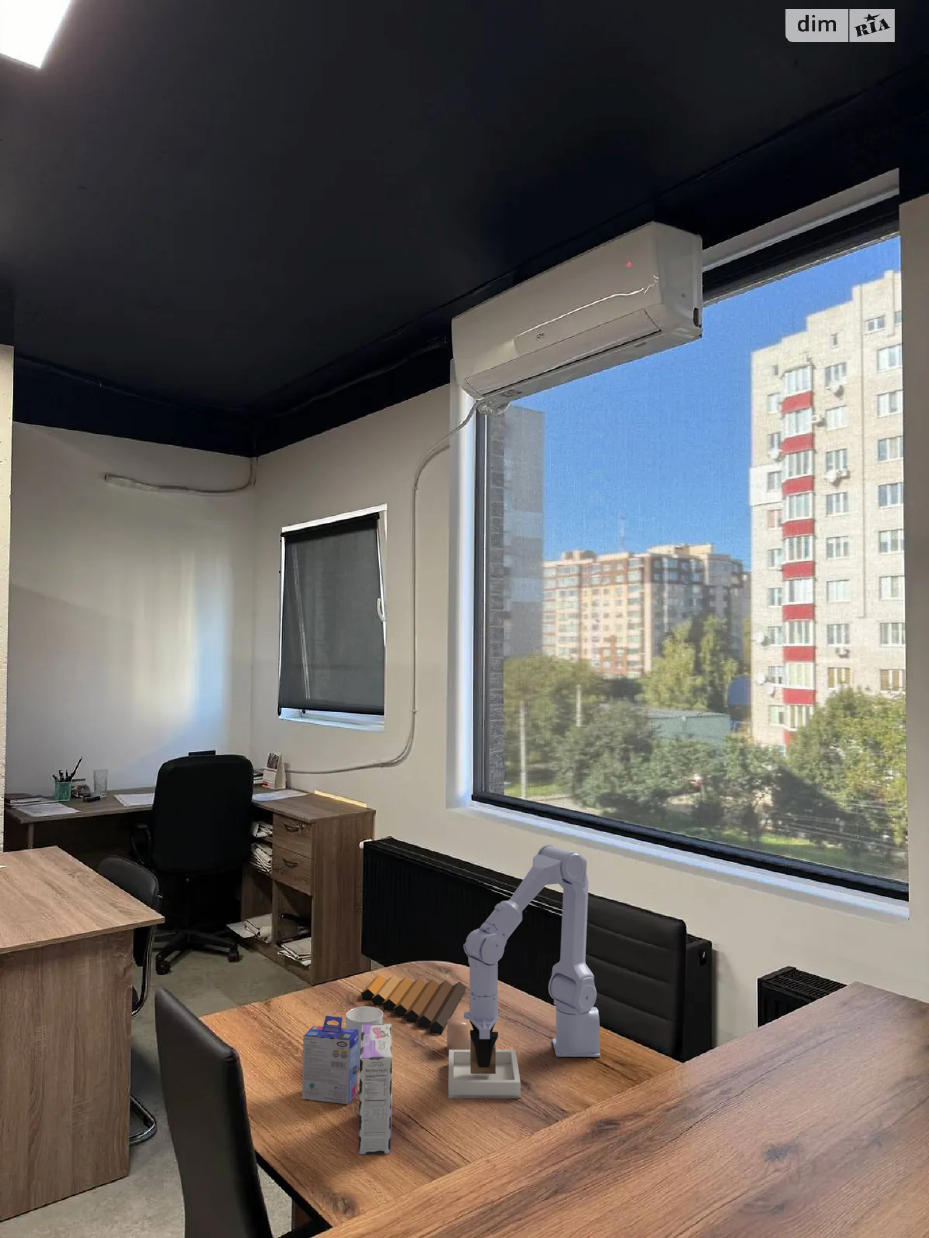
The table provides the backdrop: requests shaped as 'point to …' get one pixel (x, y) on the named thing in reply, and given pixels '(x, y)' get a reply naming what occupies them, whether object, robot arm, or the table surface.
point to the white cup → (363, 1020)
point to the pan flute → (416, 1000)
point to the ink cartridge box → (330, 1063)
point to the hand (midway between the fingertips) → (483, 1060)
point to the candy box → (375, 1089)
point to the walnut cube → (474, 1064)
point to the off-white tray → (483, 1077)
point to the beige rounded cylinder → (458, 1034)
